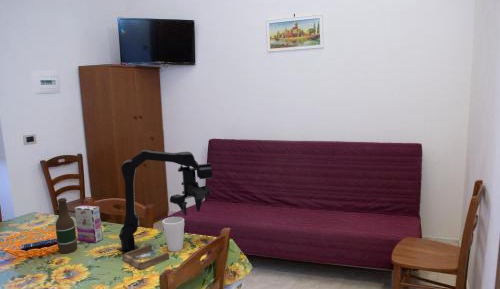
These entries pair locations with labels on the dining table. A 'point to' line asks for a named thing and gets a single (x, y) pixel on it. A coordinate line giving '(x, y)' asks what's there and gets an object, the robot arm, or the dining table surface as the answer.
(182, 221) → the foam cup
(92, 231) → the candy bar box
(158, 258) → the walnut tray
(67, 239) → the beer bottle
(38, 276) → the dining table surface
